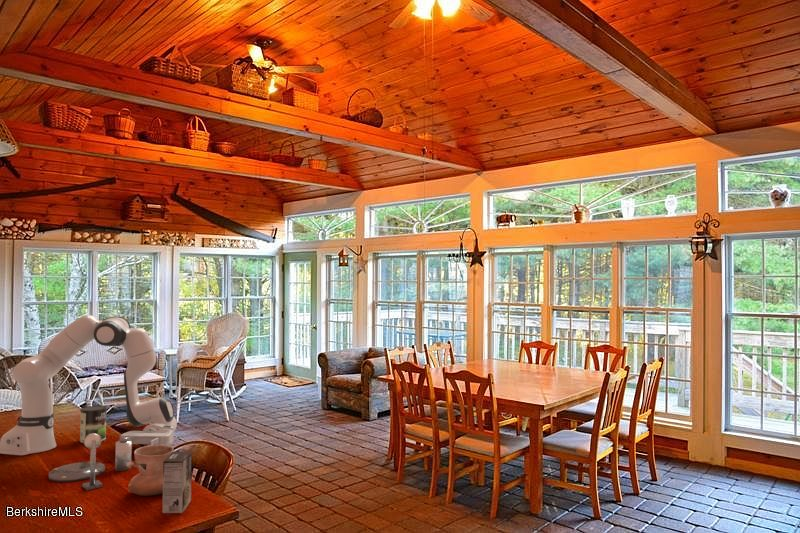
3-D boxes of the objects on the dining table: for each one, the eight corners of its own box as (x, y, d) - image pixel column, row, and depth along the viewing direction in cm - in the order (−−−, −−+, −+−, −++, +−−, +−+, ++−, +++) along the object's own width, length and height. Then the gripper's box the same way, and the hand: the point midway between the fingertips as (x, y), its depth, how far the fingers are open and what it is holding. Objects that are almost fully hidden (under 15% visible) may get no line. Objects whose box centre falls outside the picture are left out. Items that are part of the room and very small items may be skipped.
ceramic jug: (130, 504, 178) (132, 459, 179) (119, 490, 189) (121, 448, 190) (188, 492, 189) (189, 450, 190) (174, 480, 201) (176, 440, 201)
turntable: (36, 481, 197) (37, 477, 197) (67, 464, 215) (68, 460, 215) (87, 482, 197) (87, 478, 197) (114, 465, 215) (114, 461, 215)
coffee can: (111, 437, 252) (112, 406, 253) (94, 443, 242) (95, 411, 243) (91, 435, 254) (92, 404, 255) (74, 442, 244) (74, 409, 245)
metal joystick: (102, 486, 193) (103, 434, 193) (86, 490, 189) (87, 437, 190) (98, 482, 196) (99, 431, 197) (82, 486, 193) (83, 434, 193)
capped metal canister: (112, 470, 209) (112, 439, 209) (119, 465, 215) (120, 435, 215) (126, 470, 209) (127, 439, 209) (134, 465, 215) (134, 435, 215)
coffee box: (171, 501, 181) (172, 451, 181) (191, 501, 181) (192, 451, 182) (161, 513, 172) (162, 460, 172) (182, 513, 172) (184, 460, 172)
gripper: (129, 426, 238) (112, 435, 224) (177, 426, 237) (163, 435, 223) (129, 440, 237) (112, 450, 224) (177, 441, 237) (163, 451, 223)
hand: (138, 443), depth 223 cm, fingers open, 8 cm apart
